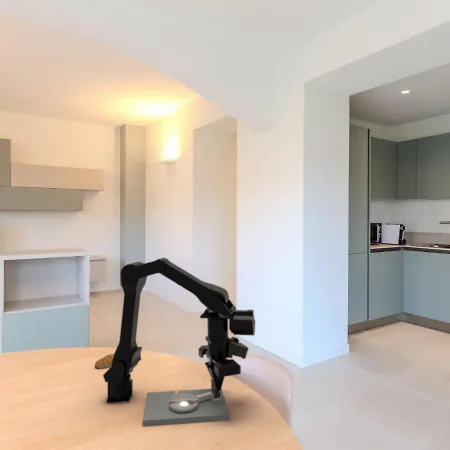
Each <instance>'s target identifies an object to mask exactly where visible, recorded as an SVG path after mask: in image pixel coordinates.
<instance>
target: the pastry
mask: <svg viewBox="0 0 450 450" xmlns="http://www.w3.org/2000/svg"><path fill="white" fill-rule="evenodd" d="M113 356H114V353H110V354H106V355H105V356H103V357H101V358H99V359H98V360H96V361H95V363H94V367H95V368H97V369H100V370H102V368H103V369H110V367H111V363H112V360H113Z"/></svg>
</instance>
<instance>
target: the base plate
mask: <svg viewBox="0 0 450 450" xmlns="http://www.w3.org/2000/svg"><path fill="white" fill-rule="evenodd" d="M210 391H211V388H203V389H202V388H199V389H185V390H184V389H183V390H167V391H151V392H146V397H145V403H144V410H143V414H142V415H143V416H142V427H157V426H168V425H169V426H171V425H182V424H183V425H184V424H185V425H186V424H195V423H199V424H200V423H208V422H209V423H210V422H211V423H212V422H225V421H226V422H227V421H230V413H229V410H228V406H227V403H226V399H225V398H226V397H225V395H224V391H223V388H221V390H220V397H218V398H211V399H208V400H204V401H201V402H199V406H198V408H197V409H195V410H193V411H191V412H186V413H178V412H174V411H172V410H171V409H170V408H169V399H170V397H172V396H173V395H176V394H179V393H191V394H195V395H199V394H203V393H207V392H210Z"/></svg>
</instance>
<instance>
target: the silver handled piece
mask: <svg viewBox="0 0 450 450" xmlns="http://www.w3.org/2000/svg"><path fill="white" fill-rule="evenodd" d="M210 382H211V383H210V386H211V387H210V389H211V391H210V392H207V393H203V394H199V395H195V394H191V393H179V394H176V395H173V396H172V397H170V399H169V408H170V409H171V410H172V411H174V412H178V413H186V412H191V411H193V410H195V409H197V408H198V406H199V402H201V401H204V400H208V399H211V398H218V397H220V390H219V391H217V390H216V387H215V385H214V383H213V380H212V378H211V379H210Z"/></svg>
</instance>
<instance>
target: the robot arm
mask: <svg viewBox="0 0 450 450" xmlns="http://www.w3.org/2000/svg"><path fill="white" fill-rule="evenodd" d="M156 274H160V275H161V276H164V277H165V278H167V279H169V280H170V281H171V282H173V283H175V284H177V285H178V286H179V287H180V288H181V287H182V288H183V289H184V290H187V291H188V292H190V293H191V294H193V295H194V297H196V299H198V301H199V302H200V303H201V304H202V305H203V306H205V308H206V309H205V310H204V312H203V313H202V314H200V316H199V318H200V319H207V321H206V322H207V323H206V324H207V335H206V336H205V341H206V342H207V344H205V345H201V346H200V347H198V352H197V353H198V357H199V358H200V359H203V358H204V356H206V358H207V361H205V362H204V365H205V366H206V369H207V372H208V374H209V376H210V378H211V379H212V380H213V383H214V385H215V387H216V390H217V391H219V390H221V388H222V386H223V384H224V381H225V378H226V377H230V376H237V375H240V374H242V369H241V368H242V366H241V365H240V364H239V363H238V362H237V361H236V360H235V359H233V356H234V357H238V358H241V359H244V360H245V359H246V358H247V355H248V351H249V347H248V346H247V345H245V344H244V343H242V342H240V340H239V338H238V337H236V336H253V337H254V336H255V334H256V333H255V332H256V319H255V314H254V313H255V311H254V309H246V310H245V309H244V310H243V309H237V307H236V306H235V305H234V303H233V301H231V300H230V296H229V292H228V290H227V289H225V288H224V287H222V286H219V285H216V284H214V283H210V282H206V281H203V280H201V279H200V278H198V277H197V276H195V275H193V274H191V273H190V272H188V271H186V270H184V268H182V267H180V266H179V265H177V264H176V263H173V262H172V261H170V260H169V258H167V257H161V258H157V259H156V260H152V261H149V262H145V263H144V262H141V261H135V262H131V263H128V264H126V265H124V266H123V267H122V268H121V270H120V286H121V289H122V291H123V302H122V304H123V305H122V311H121V313H122V314H121V323H120V332H119V333H120V334H119V342H118V345H117V347H116V349H115V351H114V353H113V354H114V356H113V360H112V363H111V368H108V369H107V370H106V371H105V372H104V374H103V375H102V377H103V380H104V382H105V383H107V397H106V401H105V402H106V403H107V404H112V403H114V404H115V403H128V402H130V401H131V398H132V397H133V394H134V379H133V378H132V376H131V373H133V371H134V369H135V368H137V365H138V364H139V363H140V361H142V357H141V355H142V354H141V353H142V350H143V347H142V346H138V343H137V331H138V323H139V321H138V320H139V315H140V314H139V313H140V312H139V311H140V304H141V294H142V291H143V289H144V287H145V284H146V282H147V278H148V277H150V276H153V275H156ZM229 331H230V333H231V334H233V335H234V336H231V337H229ZM131 378H132V379H131ZM222 389H223V388H222Z"/></svg>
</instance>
